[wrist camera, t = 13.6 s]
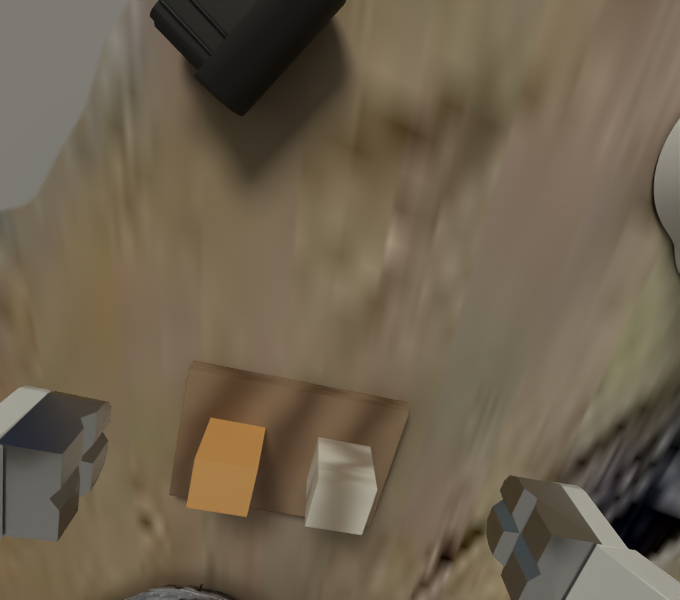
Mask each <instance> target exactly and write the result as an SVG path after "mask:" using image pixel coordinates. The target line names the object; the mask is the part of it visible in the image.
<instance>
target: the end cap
mask: <svg viewBox="0 0 680 600" xmlns="http://www.w3.org/2000/svg"><path fill="white" fill-rule="evenodd" d="M345 2H346V0H158V2H157V3H156V4H155V6H154V7H153V8H152V10H151V12H150V17H151V18H152V19H153V20H154V24H155V27H156V28H157V29H158V30H159V31H160V32H161V33H162V34H163V35H164V36H165V37H166V38H167V39H168V40H169V41H170V42H171V44H172V45H173V46H174V47H175V48H176V49H177V50H178V51H179V52H180V53H181V54H182V55H183V56H184V57H185V58H186V59H187V60H188V61H189V62H190V63H191V64H192V65H193V66H194V67H195V68H196V69H197V70H198V71H197V72H196V74H195V76H194V77H195V78H196V79H197V80H198V81H199V82H200V83H201V84H202V85H203V86H204V87H205V88H206V89H207V90H209V91H210V92H211V93H212V94H213V95H214V96H215V97H216V98H217V99H218V100H219V101H220V102H221V103H223V104H224V105H225V106H226V107H227V108H228V109H230V110H231V111H232V112H234V113H235V114H236V115H239V116H243V115H245V114H246V112H247V111H248V110H249V109H250V108H251V107H252V106H253V105H254V104H255V102H256V101H257V100H258V99H259V98H260V97H261V96H262V95H263V94H264V93H265V91H266V90H267V89H268V88H269V87H270V86H271V85H272V84H273V83H274V81H275V80H276V79H277V78H278V77H279V76H280V75H281V74H282V73H283V72H284V70H285V69H286V68H287V67H288V66H289V65H290V64H291V63H292V62H293V60H294V59H295V58H296V57H297V56H298V55H299V54H300V53H301V52H302V50H303V49H304V48H305V47H306V46H307V45H308V44H309V43H310V42H311V41H312V39H313V38H314V37H315V36H316V35H317V34H318V33H319V32H320V31H321V29H322V28H323V27H324V26H325V25H326V24H327V23H328V22H329V21H330V19H331V18H332V17H333V16H334V15H335V14H336V13H337V12H338V11H339V10H340V8H341V7H342V6H343V5H344V4H345Z"/></svg>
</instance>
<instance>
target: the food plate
mask: <svg viewBox="0 0 680 600" xmlns="http://www.w3.org/2000/svg"><path fill="white" fill-rule="evenodd" d="M202 585H203V584H202ZM202 585H200V590H201V591H197V589H196V587H194V586H191V585H189V586H186V587H184V588H182V589H175V585H166V586H162V587H158V588H155V589H147V590H152V591H148V592H143V593H141V594H138V595H134V596H132V597H128V598H125V599H123V600H233V599H231V598H229V597H228V596H226V595H225V594H224V593H223V592H218V591H217V592H216V591H215V592H214V591H212V590H211V589H210V590H209V589H202V587H201V586H202Z"/></svg>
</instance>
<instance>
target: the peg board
mask: <svg viewBox="0 0 680 600" xmlns="http://www.w3.org/2000/svg"><path fill="white" fill-rule="evenodd" d="M409 412H410V411H409V408H408V405H407V402H402V401H397V400H392V399H387V398H381V397H376V396H371V395H366V394H361V393H356V392H351V391H346V390H341V389H335V388H330V387H325V386H320V385H315V384H310V383H305V382H300V381H295V380H289V379H284V378H279V377H274V376H269V375H264V374H259V373H254V372H249V371H244V370H238V369H233V368H228V367H223V366H218V365H213V364H208V363H203V362H198V361H193V362H192V364H191V366H190V367H189V370H188V376H187V383H186V389H185V396H184V402H183V409H182V415H181V422H180V428H179V435H178V441H177V448H176V454H175V461H174V467H173V474H172V480H171V486H170V493H169V495H171V496H178V497H184V498H188V494H189V489H190V483H191V477H192V471H193V466H194V460H195V457H196V454H197V451H198V449H199V446H200V444H201V441H202V439H203V436H204V433H205V431H206V428H207V426H208V423H209V421H210V418H216V419H221V420H227V421H232V422H238V423H243V424H249V425H254V426H259V427H265V428H266V429H265V434H264V439H263V445H262V450H261V455H260V461H259V466H258V471H257V475H256V480H255V484H254V488H253V492H252V497H251V501H250V505H249V508H253V509H259V510H265V511H272V512H278V513H284V514H291V515H297V516H303V517H305V526H307V527H313V528H319V529H326V530H332V531H339V532H345V533H351V534H358V535H362V533H363V530H364V527H365V526H366V527H370V524H371V521H372V519H373V516H374V513H375V510H376V507H377V504H378V501H379V498H380V496H381V493H382V490H383V487H384V484H385V481H386V478H387V476H388V473H389V470H390V467H391V464H392V461H393V458H394V455H395V453H396V450H397V447H398V444H399V441H400V438H401V435H402V432H403V430H404V427H405V424H406V421H407V418H408V415H409Z"/></svg>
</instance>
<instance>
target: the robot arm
mask: <svg viewBox="0 0 680 600" xmlns="http://www.w3.org/2000/svg"><path fill="white" fill-rule="evenodd" d="M654 200H655V206H656V210H657V213H658V216H659V219H660V221H661V223H662V225H663V227H664V228H665V230H666V231H667V233H668V234H669V236H670V237H671V239H672V241H673V244H674V250H675V261H676V266H677V270H678V272H679V273H680V119H679V120H678V121H677V123H676V124H675V126H674V127H673V129H672V131H671V132H670V134H669V136H668V138H667V140H666V142H665V144H664V146H663V148H662V151H661V154H660V156H659V160H658V163H657V167H656V172H655V178H654ZM110 416H111V406H110V404H109V402H106V401H102V400H97V399H92V398H87V397H82V396H77V395H72V394H67V393H62V392H57V391H51V390H47V389H41V388H36V387H30V386H24V387H20V388H18V389H17V390H15V391H14V392H13V393H12V394H11V395H9V396H8V397H7V398H6V399H5V400H3V401H2V402H1V403H0V540H1V539H2V537H3V536H11V537H20V538H28V539H37V540H46V541H55V542H58V540H59V539H60V537H61V536H62V534H63V532H64V531H65V529H66V528H67V526H68V525H69V523H70V522H71V520H72V519H73V517H74V516H75V514H76V513H77V511H78V502H79V497H81V496H83V495H85V494H86V493H88V492H90V491H91V489H92V488H93V486H94V484H95V483H96V481H97V480H98V477H99V475H100V473H101V470H102V468H103V465H104V462H105V458H106V454H107V448H108V439H107V438H106V436H105V435H104V433H103V430H104V429H105V428H106V426H107V425H108V424H109V422H110ZM500 492H501V495H502V498H503V500H501V501H500V502H498V503H497V504H495V505H494V506H493V507H492V509H491V511H490V514H489V516H488V519H487V531H486V534H487V539H488V544H489V547H490V550H491V552H492V555H493V556H494V557H495V558H496V559H497V560H498V561H499V562H500V563H501V564H502V565H503V566H504V567H503V570H502V573H501V577H502V579H503V581H504V584H505V586H506V588H507V591H508V593H509V596H510V598H511V600H680V583H679V582H678V581H677V580H675V579H674V578H672V577H671V576H670V575H668V574H667V573H666V572H664V571H663V570H661V569H660V568H659V567H657V566H656V565H655V564H653V563H652V562H651V561H649V560H648V559H646V558H645V557H644V556H642V555H641V554H640V553H638V552H637V551H635V550H629V549H628V548H627V547H626V545H625V544H624V543H623V541H622V540H621V539H620V537H619V536H618V535H617V533H616V532H615V531H614V529H613V528H612V527H611V525H610V524H609V523H608V521H607V520H606V519H605V517H604V516H603V515H602V513H601V512H600V511H599V509H598V508H597V507H596V505H595V504H594V503H593V501H592V500H591V499H590V497H589V496H588V495H587V493H586V492H585V491H584V490H583V489H581V488H580V487H578V486H576V485H569V484H563V483H556V482H555V483H551V482H545V481H540V480H534V479H528V478H522V477H517V476H511V475H510V476H509V477H508V478H507V479H506V480H505V481H504V483H503V485H502V487H501V489H500Z"/></svg>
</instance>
